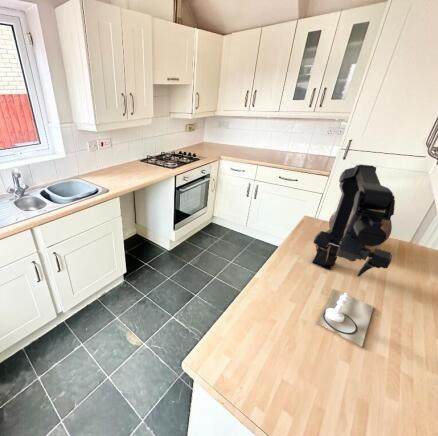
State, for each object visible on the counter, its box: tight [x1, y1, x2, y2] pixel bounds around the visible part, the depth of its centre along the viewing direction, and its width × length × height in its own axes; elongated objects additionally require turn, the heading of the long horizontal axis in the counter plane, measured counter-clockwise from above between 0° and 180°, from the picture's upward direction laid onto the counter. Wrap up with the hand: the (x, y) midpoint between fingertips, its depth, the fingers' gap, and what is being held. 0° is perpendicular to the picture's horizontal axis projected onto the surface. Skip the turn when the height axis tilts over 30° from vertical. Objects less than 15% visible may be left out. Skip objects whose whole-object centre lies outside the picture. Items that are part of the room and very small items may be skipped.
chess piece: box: [326, 292, 348, 322], centre depth 76 cm, size 5×5×10 cm
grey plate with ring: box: [318, 289, 374, 348], centre depth 79 cm, size 11×20×1 cm, turn 134°
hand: (340, 269), depth 80 cm, fingers open, 9 cm apart
